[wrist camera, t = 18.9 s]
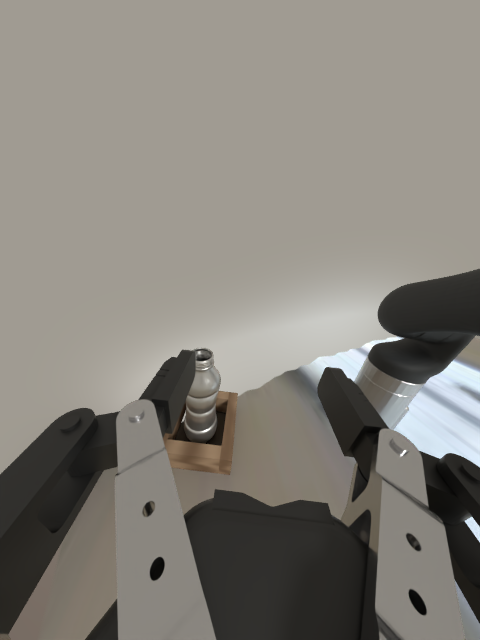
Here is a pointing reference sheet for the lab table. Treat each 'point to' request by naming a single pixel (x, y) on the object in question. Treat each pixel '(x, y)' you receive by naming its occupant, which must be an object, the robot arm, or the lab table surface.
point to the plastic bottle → (202, 399)
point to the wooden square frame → (205, 454)
